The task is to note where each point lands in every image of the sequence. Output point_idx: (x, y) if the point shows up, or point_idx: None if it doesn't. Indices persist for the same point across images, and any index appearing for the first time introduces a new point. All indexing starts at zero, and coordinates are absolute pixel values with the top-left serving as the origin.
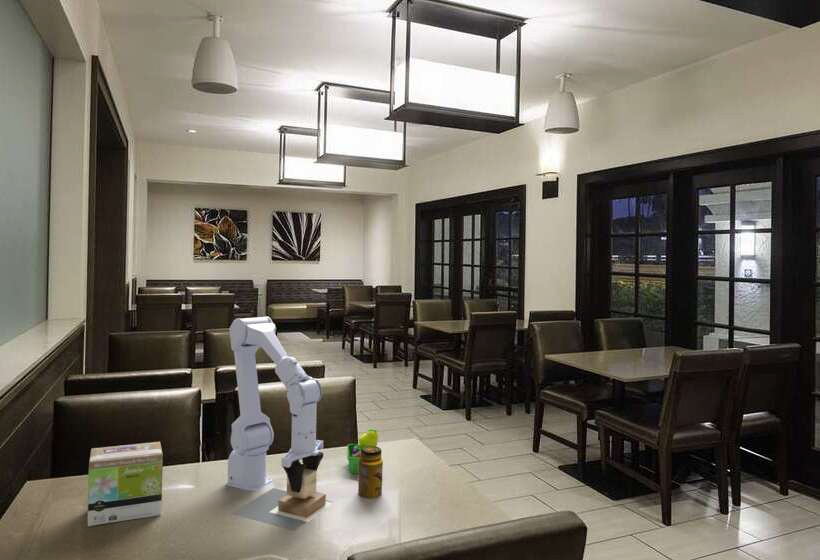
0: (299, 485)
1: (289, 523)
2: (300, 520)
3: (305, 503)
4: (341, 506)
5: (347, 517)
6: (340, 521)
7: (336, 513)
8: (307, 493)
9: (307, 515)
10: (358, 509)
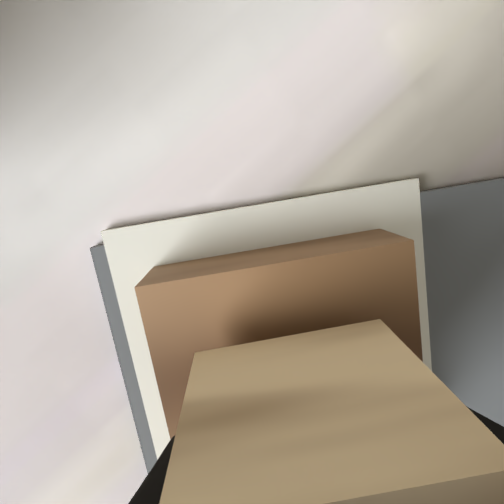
0: (501, 427)
1: (492, 262)
2: (426, 236)
3: (367, 296)
4: (87, 171)
5: (189, 17)
6: (266, 20)
7: (191, 128)
8: (345, 341)
9: (377, 231)
10: (37, 31)
